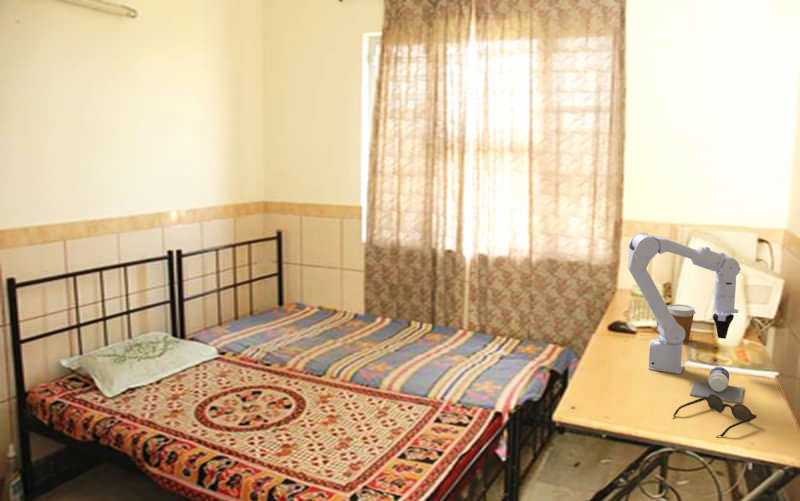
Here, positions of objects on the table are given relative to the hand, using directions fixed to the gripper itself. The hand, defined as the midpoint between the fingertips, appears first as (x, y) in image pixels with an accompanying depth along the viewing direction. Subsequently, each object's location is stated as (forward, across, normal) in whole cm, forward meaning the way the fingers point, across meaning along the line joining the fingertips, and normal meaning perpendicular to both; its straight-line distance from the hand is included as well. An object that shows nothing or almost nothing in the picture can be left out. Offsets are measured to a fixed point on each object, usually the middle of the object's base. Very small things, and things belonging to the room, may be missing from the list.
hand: (721, 337), depth 205 cm
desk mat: (+10, -20, -1) cm, 23 cm away
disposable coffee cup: (+11, +26, +15) cm, 32 cm away
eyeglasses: (+11, -42, -1) cm, 43 cm away
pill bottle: (+7, -13, -1) cm, 15 cm away
